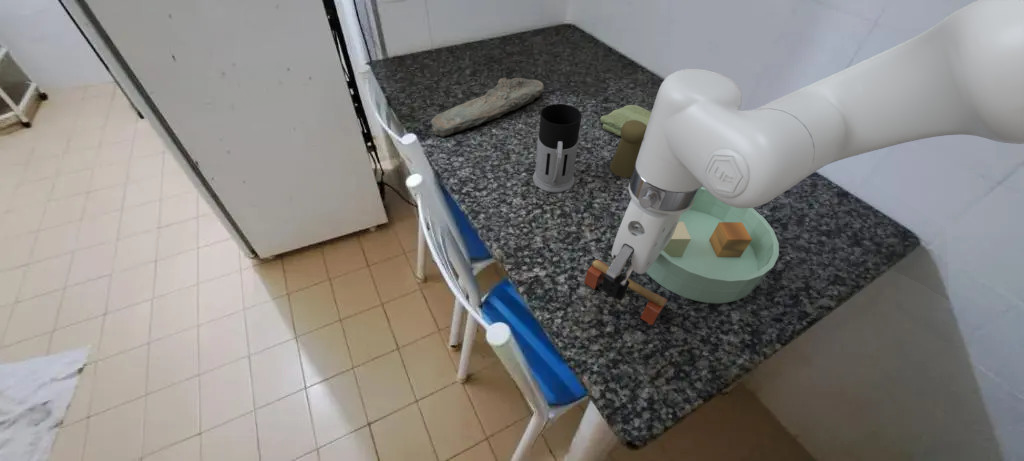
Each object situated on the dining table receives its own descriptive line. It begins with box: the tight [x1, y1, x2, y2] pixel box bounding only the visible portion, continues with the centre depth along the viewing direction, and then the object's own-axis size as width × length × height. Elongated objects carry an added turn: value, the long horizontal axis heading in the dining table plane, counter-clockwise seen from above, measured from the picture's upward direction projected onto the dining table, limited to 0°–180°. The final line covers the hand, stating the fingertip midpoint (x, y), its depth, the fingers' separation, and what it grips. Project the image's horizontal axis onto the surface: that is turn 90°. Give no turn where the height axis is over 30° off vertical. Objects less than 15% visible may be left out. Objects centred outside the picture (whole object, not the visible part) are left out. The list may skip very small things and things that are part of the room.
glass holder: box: [532, 103, 583, 193], centre depth 75 cm, size 9×14×15 cm, turn 175°
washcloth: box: [599, 104, 652, 137], centre depth 94 cm, size 13×18×3 cm
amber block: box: [709, 222, 752, 257], centre depth 66 cm, size 4×4×4 cm
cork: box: [609, 120, 647, 179], centre depth 81 cm, size 6×6×11 cm
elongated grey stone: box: [430, 77, 545, 138], centre depth 99 cm, size 35×5×10 cm
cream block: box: [663, 222, 691, 257], centre depth 66 cm, size 4×4×4 cm
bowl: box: [645, 186, 780, 304], centre depth 66 cm, size 22×22×6 cm
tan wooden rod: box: [591, 259, 666, 306], centre depth 59 cm, size 12×1×1 cm, turn 50°
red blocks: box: [584, 258, 668, 326], centre depth 60 cm, size 12×3×4 cm, turn 50°
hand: (628, 272), depth 57 cm, fingers open, 9 cm apart
